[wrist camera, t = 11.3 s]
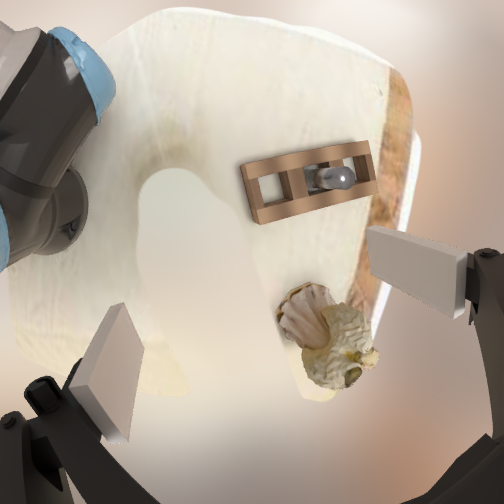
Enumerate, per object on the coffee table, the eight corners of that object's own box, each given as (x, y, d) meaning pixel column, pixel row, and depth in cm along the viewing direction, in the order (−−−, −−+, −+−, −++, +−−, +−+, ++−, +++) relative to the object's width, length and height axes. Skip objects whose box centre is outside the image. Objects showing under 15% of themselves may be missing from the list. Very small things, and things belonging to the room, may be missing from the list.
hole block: (254, 221, 46) (260, 225, 42) (239, 165, 44) (244, 164, 40) (365, 191, 49) (378, 193, 45) (355, 142, 47) (367, 140, 43)
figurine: (338, 329, 55) (397, 386, 35) (283, 349, 53) (326, 421, 34) (332, 273, 51) (402, 318, 32) (270, 292, 50) (318, 354, 31)
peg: (302, 189, 47) (337, 192, 35) (297, 171, 46) (332, 168, 34) (318, 185, 47) (356, 187, 36) (314, 167, 46) (352, 164, 35)
